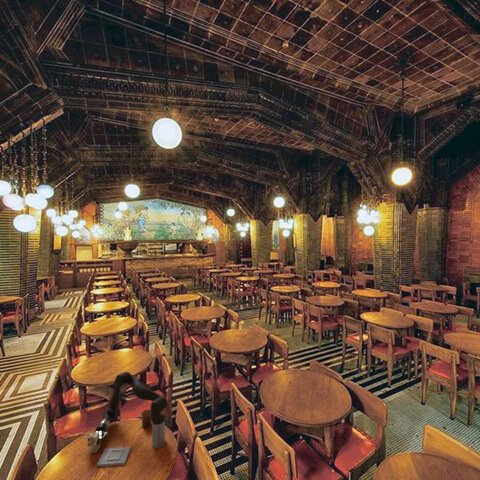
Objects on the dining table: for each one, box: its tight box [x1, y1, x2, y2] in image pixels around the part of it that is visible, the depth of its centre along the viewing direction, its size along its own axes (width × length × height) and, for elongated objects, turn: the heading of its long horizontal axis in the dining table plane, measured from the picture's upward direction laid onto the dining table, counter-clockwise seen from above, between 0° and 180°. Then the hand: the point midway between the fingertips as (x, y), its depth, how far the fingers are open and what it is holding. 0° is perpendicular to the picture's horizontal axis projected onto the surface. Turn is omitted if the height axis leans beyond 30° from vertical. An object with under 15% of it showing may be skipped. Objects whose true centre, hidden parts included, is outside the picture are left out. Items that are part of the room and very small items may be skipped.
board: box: [96, 446, 132, 468], centre depth 189 cm, size 18×14×2 cm
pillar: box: [88, 431, 101, 454], centre depth 194 cm, size 5×5×11 cm
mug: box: [140, 408, 152, 429], centre depth 223 cm, size 12×9×10 cm
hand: (92, 444), depth 191 cm, fingers closed on pillar, 5 cm apart
